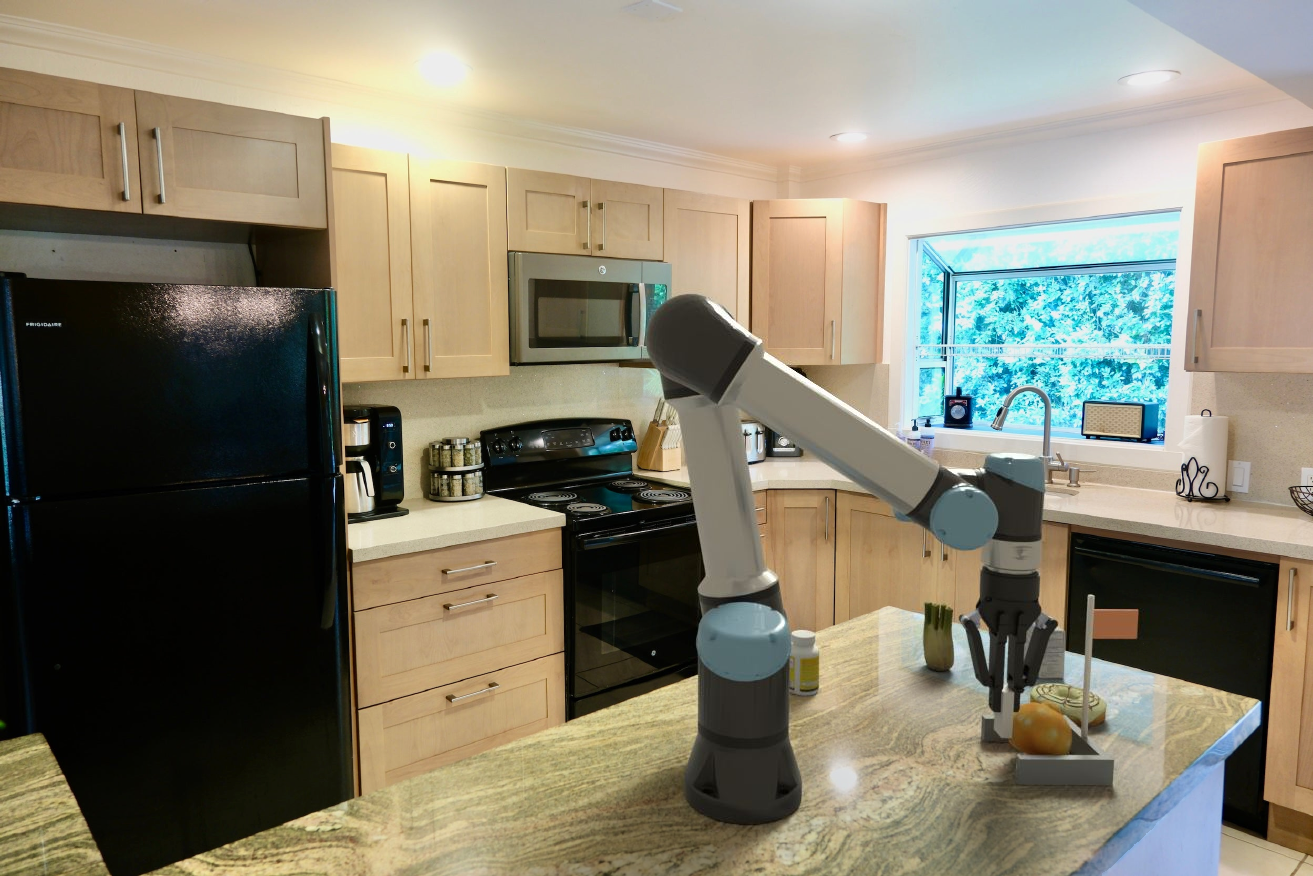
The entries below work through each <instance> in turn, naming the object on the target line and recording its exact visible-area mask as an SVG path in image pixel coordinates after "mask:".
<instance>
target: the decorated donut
mask: <svg viewBox="0 0 1313 876" xmlns="http://www.w3.org/2000/svg"><path fill="white" fill-rule="evenodd" d="M1044 701H1046V702H1050V703H1053V704H1055V705H1056V706H1058V707H1059V709H1060V710H1061V712H1062V714H1063V715H1066V716H1067V717H1068V718H1069V719H1070V720H1071V721H1072V722H1073V723H1075V724H1076V725H1077V726H1080V725H1081V723H1082V704H1083V688H1081V687H1078V686H1074V685H1070V684H1066V683H1059V682H1058V683H1057V682H1055V683H1053V682H1052V683H1051V682H1047V683H1040V684H1038V685H1035V686H1033V688H1032V689H1031V691H1030V695H1029V703H1033V702H1035V703H1039V704H1041V703H1043V702H1044ZM1107 706H1108V704H1107V702H1106V701H1105V699H1104V698H1102V697H1101V696H1099V695H1098V694H1096V693H1093V692H1091V691H1090V695H1089V714H1088V727H1092V726H1096V725H1099V724H1101V723H1103V722H1104V720H1105V719H1106V716H1107V715H1106V714H1107Z"/></svg>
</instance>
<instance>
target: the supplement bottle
mask: <svg viewBox="0 0 1313 876" xmlns="http://www.w3.org/2000/svg"><path fill="white" fill-rule="evenodd" d="M790 633H791V634H790V636H791V642H792V647H791V653H790V681H789V693H791V694H793V695H797V696H803V697H805V696H812V695H815V694H818V692H819V690H820V688H819V687H820V650H819V649H820V648H819V647H818V646H817V645H816V633H815V632H813V631H810V630H805V629H798V630H794V631H792V632H790Z"/></svg>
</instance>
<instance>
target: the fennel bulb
mask: <svg viewBox="0 0 1313 876" xmlns="http://www.w3.org/2000/svg"><path fill="white" fill-rule="evenodd" d="M953 615H954V609H953V608H952V607H951V606H947V604H946V603H944V602H943V603H941V605H940V603H937V602H932V601H930V600H928V601H927V600H926V601H924V622H923V633H922V635H923V636H922V643H923V645H922V646H923V657H924V660H925V664H926V666H927V668H929V669H930V670H932V671H935V672H936V671H937V672H946V671H948V670H950V669H951V668H953V666H954V664H955V645H954V641H953V631H952V629H953Z"/></svg>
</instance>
